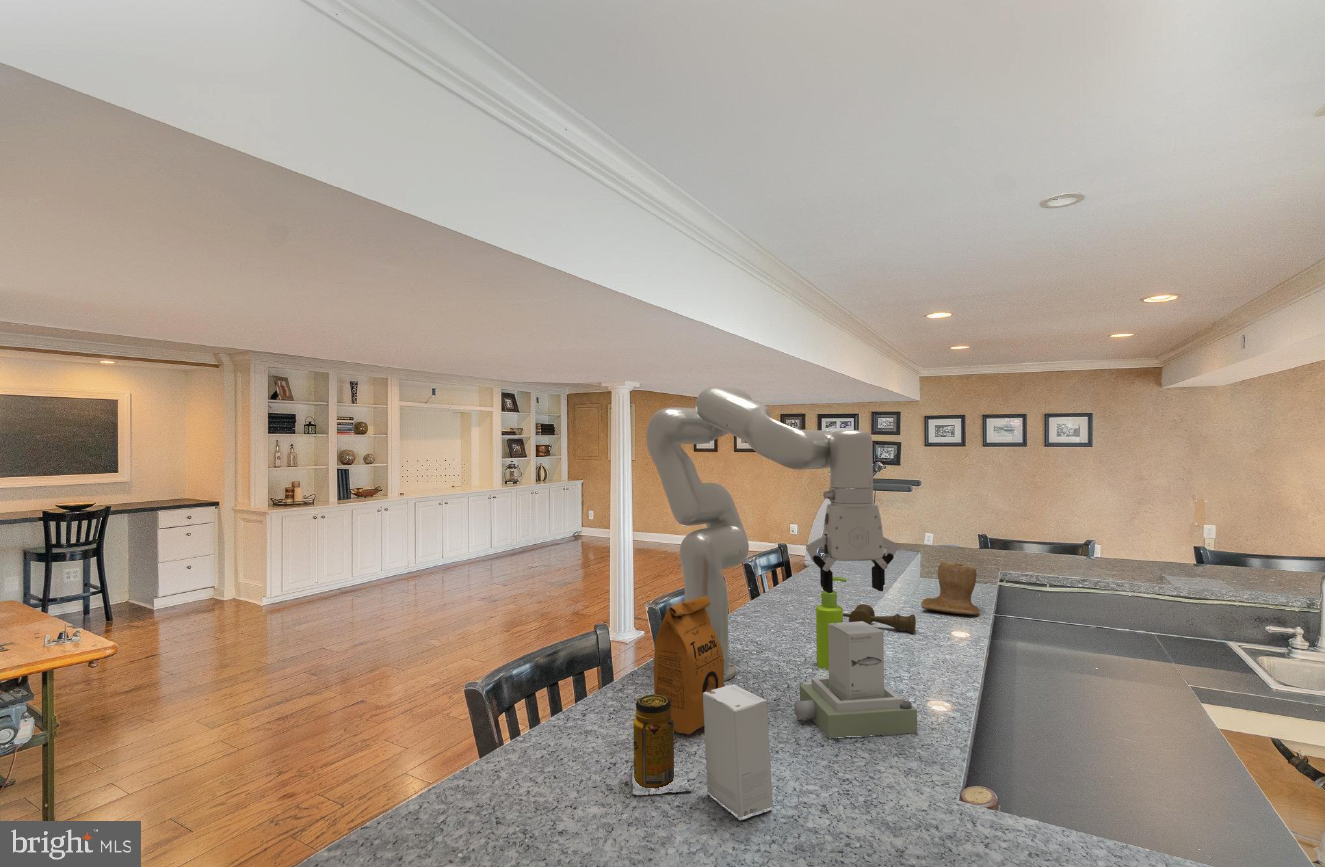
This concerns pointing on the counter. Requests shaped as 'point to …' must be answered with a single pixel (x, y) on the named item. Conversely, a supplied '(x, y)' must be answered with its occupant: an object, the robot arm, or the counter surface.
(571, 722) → the counter surface
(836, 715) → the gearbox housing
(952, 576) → the brown boot
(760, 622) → the counter surface
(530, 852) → the counter surface
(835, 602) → the soap dispenser
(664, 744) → the condiment
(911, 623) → the kendama
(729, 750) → the skincare box
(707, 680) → the coffee package
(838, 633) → the supplement box
